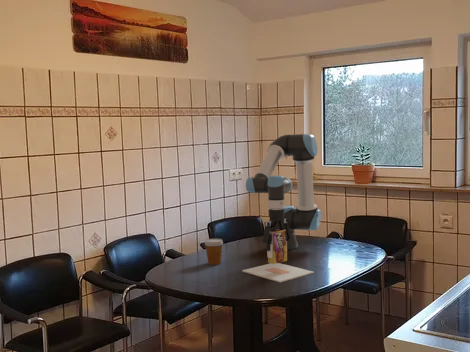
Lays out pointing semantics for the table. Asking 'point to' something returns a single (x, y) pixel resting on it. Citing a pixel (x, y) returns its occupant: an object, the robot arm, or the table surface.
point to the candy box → (278, 246)
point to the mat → (278, 272)
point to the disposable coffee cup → (214, 251)
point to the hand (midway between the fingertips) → (277, 255)
